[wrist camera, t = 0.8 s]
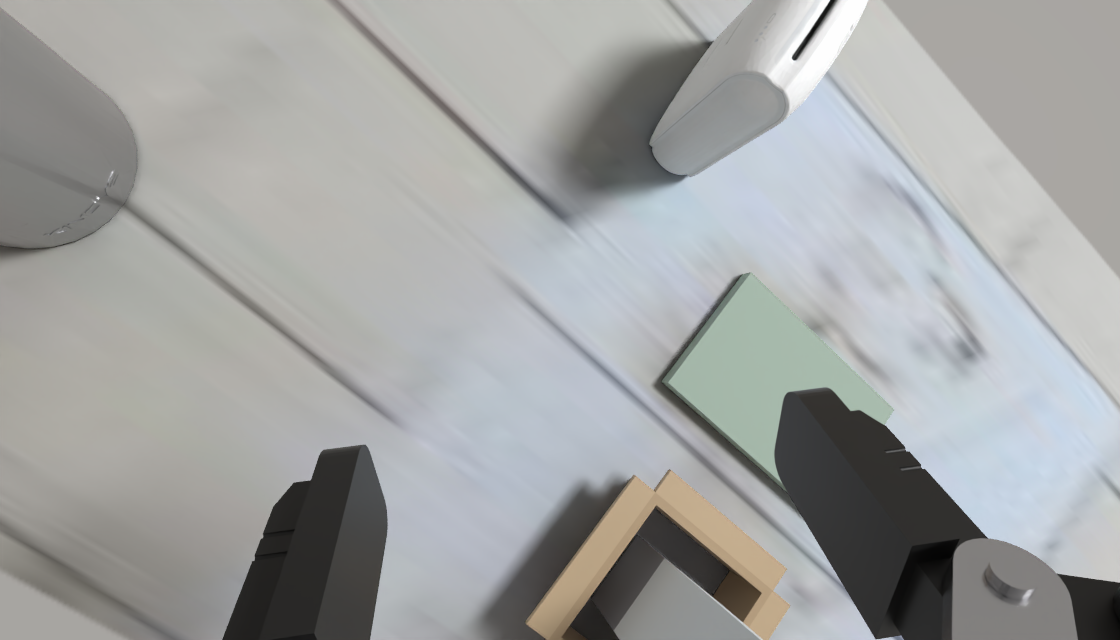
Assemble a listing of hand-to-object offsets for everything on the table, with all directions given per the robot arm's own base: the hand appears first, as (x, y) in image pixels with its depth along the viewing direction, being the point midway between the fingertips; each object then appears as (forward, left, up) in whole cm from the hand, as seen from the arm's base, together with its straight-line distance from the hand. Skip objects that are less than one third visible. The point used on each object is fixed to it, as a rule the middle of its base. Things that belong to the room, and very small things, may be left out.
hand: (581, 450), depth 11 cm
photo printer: (0, +23, -23) cm, 33 cm away
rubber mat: (+16, +12, -23) cm, 30 cm away
